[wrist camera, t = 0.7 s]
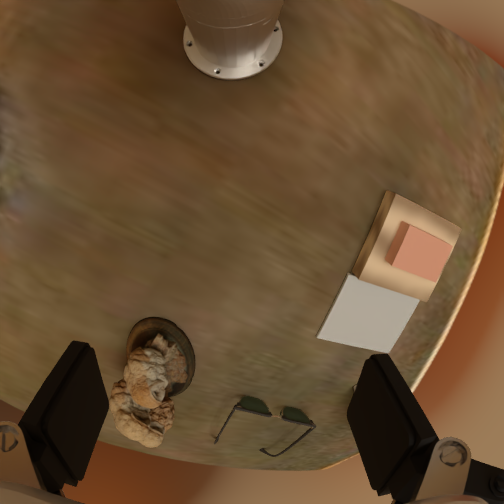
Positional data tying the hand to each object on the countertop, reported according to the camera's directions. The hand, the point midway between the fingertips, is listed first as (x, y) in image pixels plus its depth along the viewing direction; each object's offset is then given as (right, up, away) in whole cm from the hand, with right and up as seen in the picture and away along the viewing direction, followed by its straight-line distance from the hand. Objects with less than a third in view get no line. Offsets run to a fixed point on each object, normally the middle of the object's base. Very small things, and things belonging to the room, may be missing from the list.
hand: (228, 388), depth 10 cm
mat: (+20, -6, +38) cm, 43 cm away
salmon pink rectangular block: (+25, +4, +30) cm, 39 cm away
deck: (+24, +5, +34) cm, 42 cm away
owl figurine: (-14, -14, +40) cm, 44 cm away
